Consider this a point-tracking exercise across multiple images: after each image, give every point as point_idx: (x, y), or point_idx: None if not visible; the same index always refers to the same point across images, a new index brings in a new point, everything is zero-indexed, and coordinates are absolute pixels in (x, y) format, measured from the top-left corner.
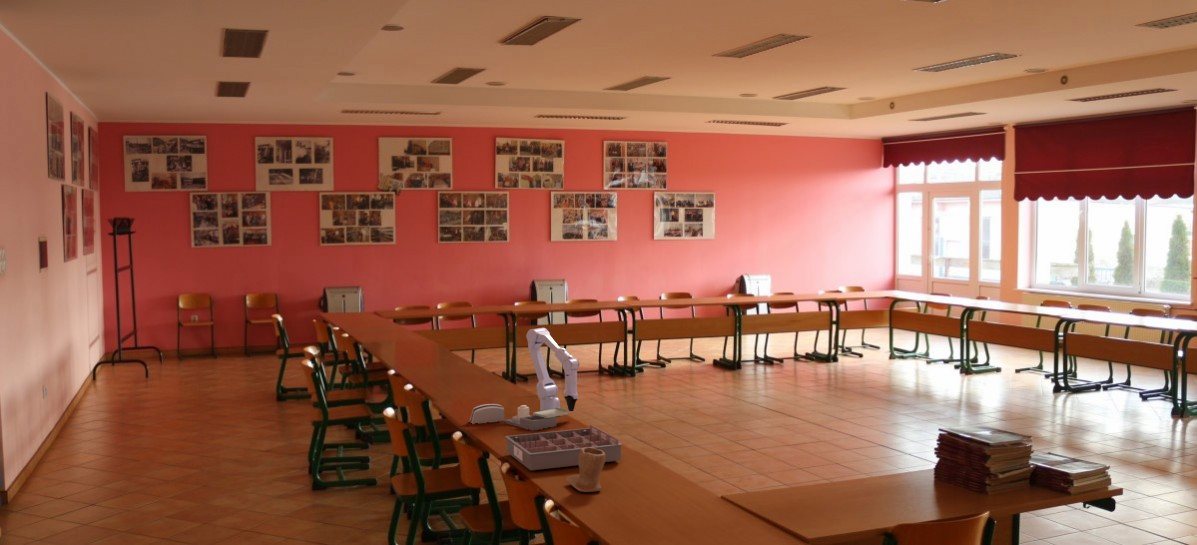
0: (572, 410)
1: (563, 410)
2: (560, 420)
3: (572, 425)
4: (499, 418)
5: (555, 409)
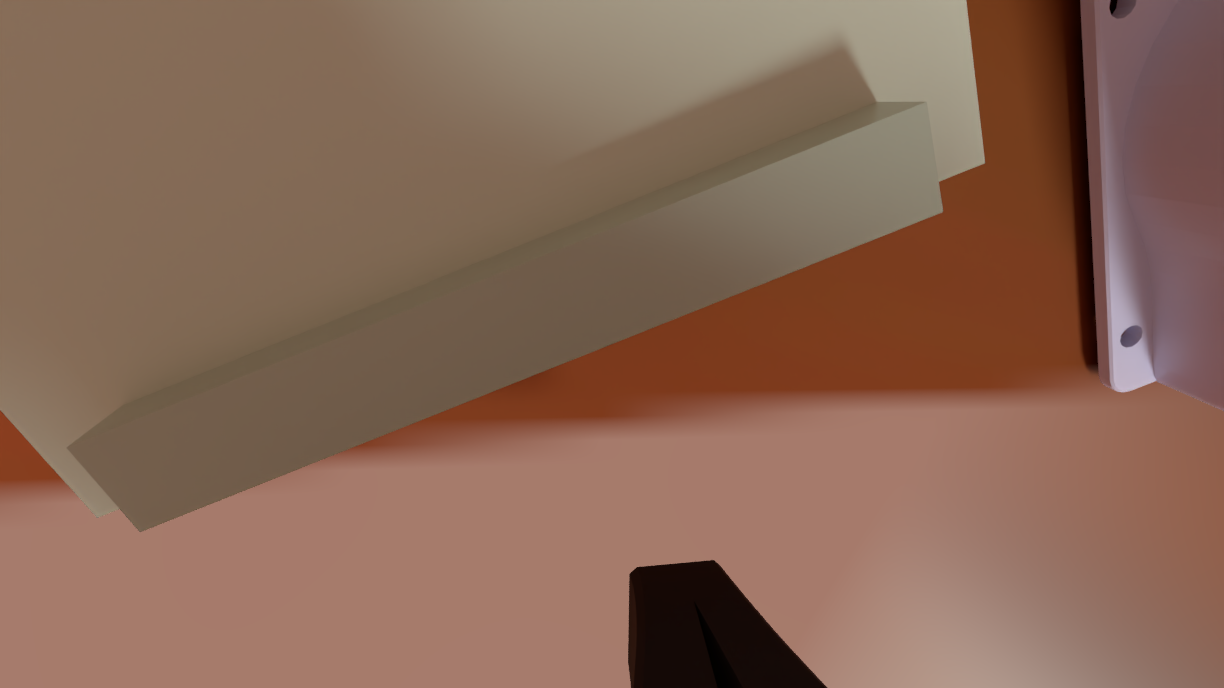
0: (628, 658)
1: (307, 337)
2: None
3: None
4: None
5: (802, 62)
